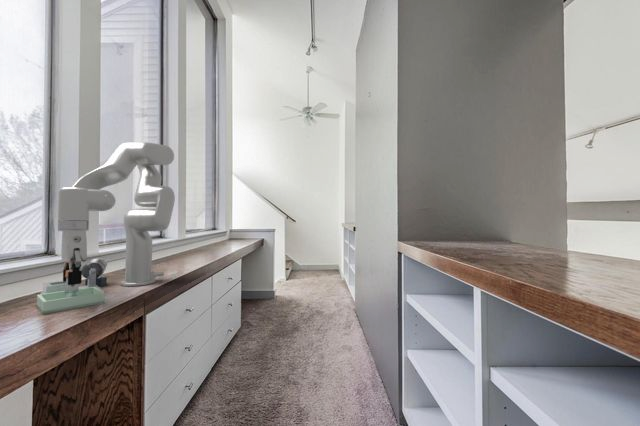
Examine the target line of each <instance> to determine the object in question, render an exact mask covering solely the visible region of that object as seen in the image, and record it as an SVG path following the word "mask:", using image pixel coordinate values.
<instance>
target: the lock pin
mask: <svg viewBox="0 0 640 426" xmlns="http://www.w3.org/2000/svg"><path fill="white" fill-rule="evenodd" d="M68 272H70V271H69V270H66V275H65V277H67V278H66V289H65V298H68V297H75V296H78V290H79V286H80V284H75V285H68Z"/></svg>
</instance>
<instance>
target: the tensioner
mask: <svg viewBox="0 0 640 426" xmlns="http://www.w3.org/2000/svg"><path fill="white" fill-rule="evenodd" d="M81 271H82V277H83V278H85V280H86V279H88V285H87V286H85V285H82V286H81V285H79V289H82V288H89V287H96V288H98V289H100V290H102V287H99V286H97V285H96V278H98V277H99V276H100V275H101V274H102V271H103V269H102V266H101V265H100V264H98V263H94V262H91V263H90V262H88V263H86V264H84V265H83V266H82V270H81ZM65 289H66V282H64V281H63V280H59V281H50V282H43V283H42V291H40V294H47V293H54V292H61V291H65ZM102 291H103V290H102Z"/></svg>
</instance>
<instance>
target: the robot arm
mask: <svg viewBox="0 0 640 426" xmlns="http://www.w3.org/2000/svg"><path fill="white" fill-rule="evenodd" d="M174 159H175V154H174V151H173V149H172V148H171V147H170V146H169V145H166V144H159V143H153V142H149V141H148V142H146V141H132V142H123V143H121V144H120V145H119V146H118V147H117V148H116V149H115V151H114V152H113V153H112V154H111V156H110V157H109V158H108V159H107V161H106V162H105V163H104V164H103V165H102V166H99V167H98V168H96V169H93V170H92V171H90V172H87V173H86V174H84V175H83V176H81V177H80V178H78V180H77V181H76V182H75V183H74V184H73V185H72V186H71V187H69V186H68V187H67V186H66V187H62V188H60V189H59V190H58V206H57V207H58V211H57V213H58V214H57V215H58V216H57V232H62V233H61V248H60V249H61V252H60V253H61V254H60V255H61V260H62V261H64V263H63V270H62V281H64V282H66V278H67V277H65V275H66V270H69V271H70V272H68V285H75V284H79V285H80V284H82V281H83V280H82V277H83V276H82V271H81V270H82V268H83V266H82V262H84V263H85V262H86V261H87V260H88V248H87V247H88V245H87V244H88V243H87V231H89V229H90V223H89V222H90V212H107V211H110V210H111V209H112V208H114V206H115V205H116V201H117V200H116V197H115V195H114V194H113V193H112V192H111V191H109V190H105V189H103V188H107V187H109V186H113V185H116V184H119V183H122V182H124V181H126V180H127V179H128V178H129V177H130V175H131V173H132V172H133V170H134V169H135V168H136V167H137V169H138V171H139V178H138V182H137V185H136V189H135V193H134V199H133V200H134V202H135V204H136V205H137V206H139V207H142V208H133V209H129V210H128V211H127V212H125V214H124V216H123V225H124V230H125V270H124V271H125V275H124V276H125V277H124V279H123V280H121V281H120V286H124V287H138V286H146V285H150V284H154V283H156V280H157V279H156V278H157V277H163V276H164V275H165V273H164V271H154V270H153V266H152V265H153V239H152V236H151V234H150V232H163V231H166V230H167V229H168V227H169V226H170V223H171V218H172V215H173V209H174V206H175V202H176V201H175V200H176V198H175V197H176V196H175V192H174V190H173V189H172V187H170V186H167V185H161V184H162V174H161V173H160V171H159V170H158V169H157V168H156V166H168V165H170V164H172V163H173V161H174Z"/></svg>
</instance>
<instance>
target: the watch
mask: <svg viewBox="0 0 640 426" xmlns="http://www.w3.org/2000/svg"><path fill="white" fill-rule="evenodd" d="M89 261H90V262H89V263H91V262H94V263H98V264H100V265H101V266H102V269H103V271H102V274H101V275H100V276H99V277H98V278H96V285H97V286H99V287H101V288H102V287H104V286H106V285H107V284H108V283H107V282H108V281H107V280H108V278H107V277H108V276H103V275H104V272H105V271H106V268H107V266H108V262H107V261H106V260H105V259H103V258H92V259H91V260H89ZM84 281H85V283H84V284H85V285H84V286H87V285H88V279H86V278H85V280H84Z"/></svg>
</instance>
